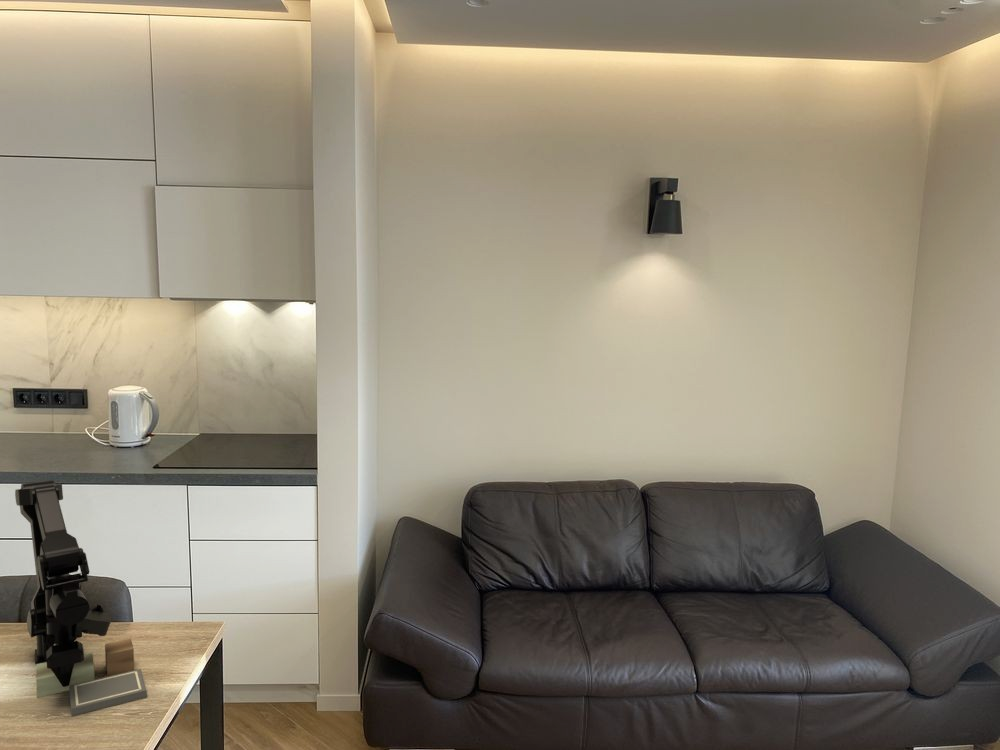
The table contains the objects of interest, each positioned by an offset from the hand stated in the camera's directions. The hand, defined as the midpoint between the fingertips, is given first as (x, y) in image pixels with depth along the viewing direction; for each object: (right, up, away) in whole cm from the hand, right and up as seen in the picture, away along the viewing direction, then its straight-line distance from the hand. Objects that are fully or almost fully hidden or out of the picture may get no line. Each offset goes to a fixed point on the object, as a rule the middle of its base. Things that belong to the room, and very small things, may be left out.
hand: (65, 677), depth 147 cm
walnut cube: (+8, -1, +7) cm, 10 cm away
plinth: (+11, -2, -3) cm, 11 cm away
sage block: (0, -1, 0) cm, 1 cm away
